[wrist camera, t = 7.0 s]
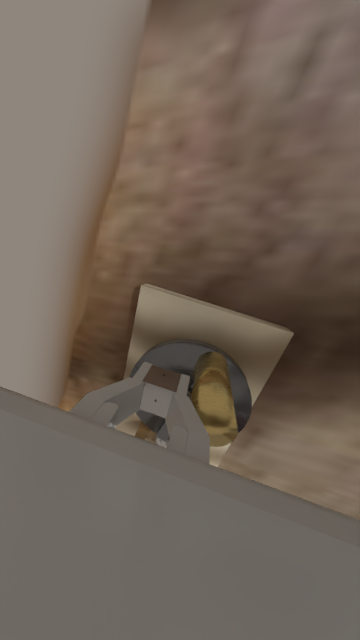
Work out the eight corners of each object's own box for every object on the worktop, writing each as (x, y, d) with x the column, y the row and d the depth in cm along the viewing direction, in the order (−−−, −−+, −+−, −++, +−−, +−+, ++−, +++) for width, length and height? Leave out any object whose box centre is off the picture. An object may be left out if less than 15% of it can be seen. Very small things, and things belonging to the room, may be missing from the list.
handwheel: (261, 349, 12) (304, 421, 6) (237, 446, 15) (251, 550, 10) (131, 330, 14) (74, 376, 8) (134, 422, 17) (95, 501, 11)
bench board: (147, 283, 17) (126, 289, 13) (286, 327, 16) (311, 348, 12) (108, 477, 29) (91, 511, 25) (186, 510, 27) (181, 551, 24)
